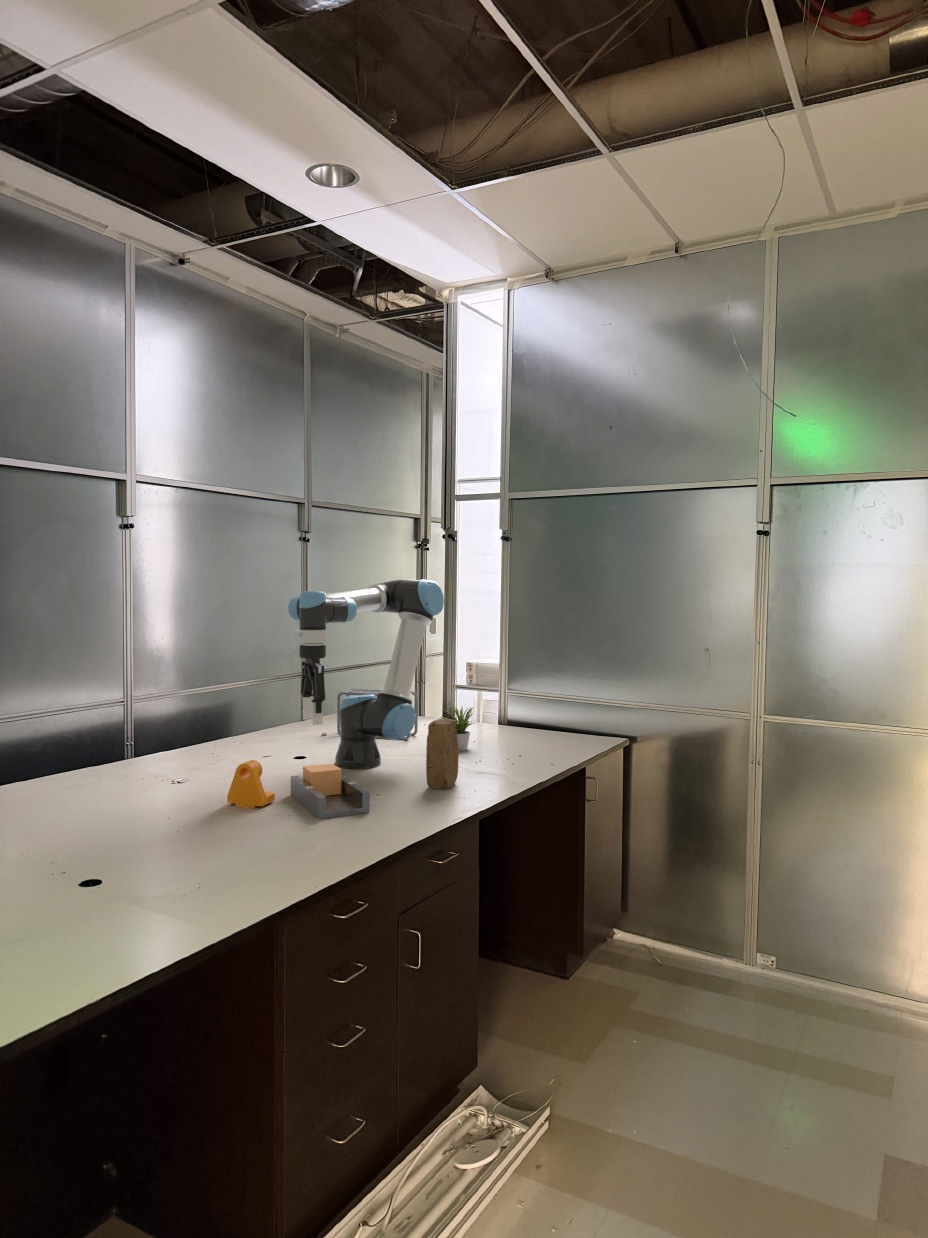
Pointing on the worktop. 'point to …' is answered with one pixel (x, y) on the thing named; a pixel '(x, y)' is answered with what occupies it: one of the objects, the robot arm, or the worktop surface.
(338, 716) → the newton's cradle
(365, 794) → the chute
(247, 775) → the bracket
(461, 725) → the house plant
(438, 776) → the block
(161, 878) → the worktop surface
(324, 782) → the slider block
